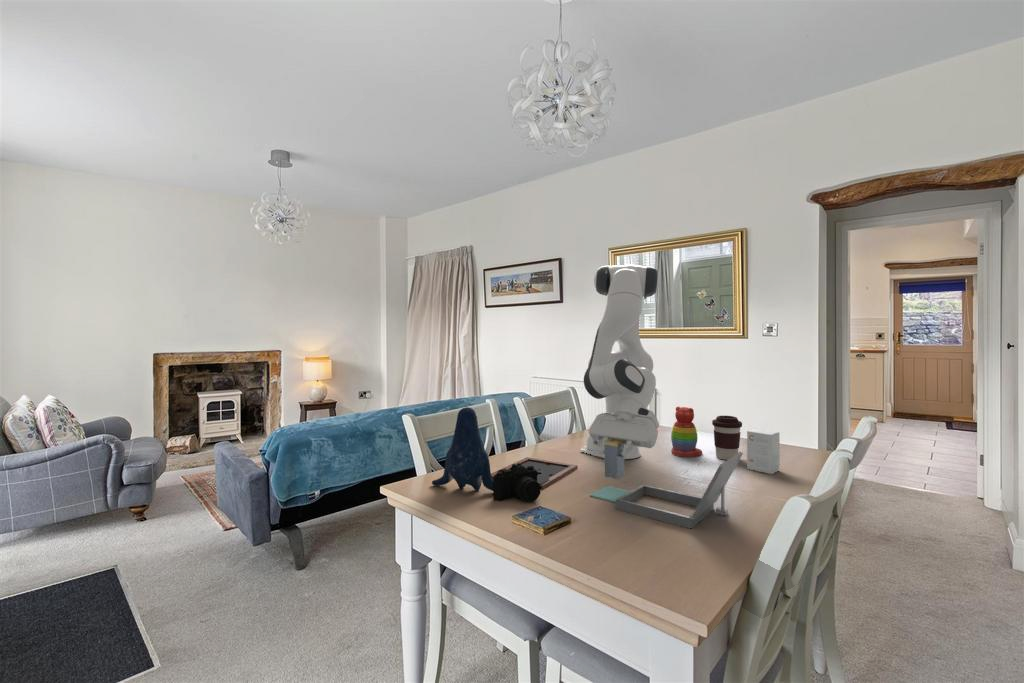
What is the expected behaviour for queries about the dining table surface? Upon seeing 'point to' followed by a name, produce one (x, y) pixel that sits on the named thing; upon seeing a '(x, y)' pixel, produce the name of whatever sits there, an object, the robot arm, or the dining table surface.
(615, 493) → the pad
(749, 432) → the small box
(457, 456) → the dark blue plush toy
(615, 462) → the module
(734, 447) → the coffee cup
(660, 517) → the case
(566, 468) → the picture frame
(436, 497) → the dining table surface
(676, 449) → the stacking bear
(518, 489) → the film camera
